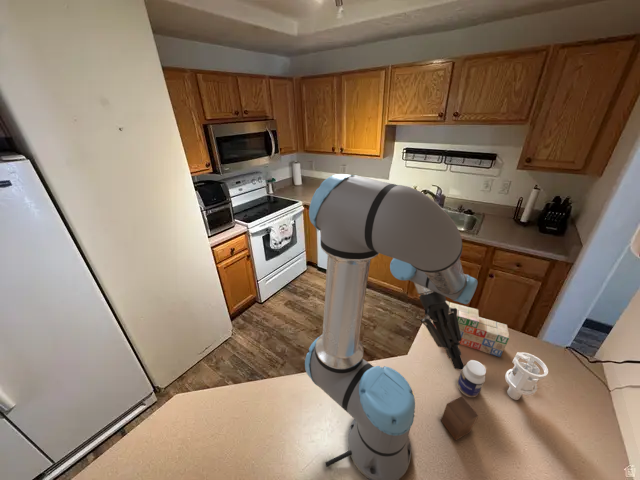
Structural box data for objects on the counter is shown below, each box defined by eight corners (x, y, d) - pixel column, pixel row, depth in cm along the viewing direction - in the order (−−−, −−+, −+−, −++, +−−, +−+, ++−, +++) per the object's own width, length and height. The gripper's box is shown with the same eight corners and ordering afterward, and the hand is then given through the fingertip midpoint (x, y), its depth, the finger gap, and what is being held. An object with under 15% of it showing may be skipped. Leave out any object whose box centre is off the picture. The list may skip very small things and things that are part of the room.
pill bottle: (452, 383, 78) (460, 362, 73) (466, 376, 80) (475, 355, 75) (468, 401, 73) (478, 380, 69) (483, 393, 75) (493, 372, 70)
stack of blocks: (498, 343, 90) (510, 318, 84) (500, 358, 85) (513, 331, 79) (433, 323, 99) (440, 298, 93) (431, 334, 94) (438, 309, 88)
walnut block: (455, 440, 65) (463, 423, 61) (440, 420, 69) (447, 403, 65) (470, 431, 67) (478, 415, 63) (454, 412, 71) (462, 396, 67)
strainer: (503, 377, 79) (520, 345, 72) (531, 394, 75) (552, 361, 67) (495, 393, 75) (513, 360, 68) (524, 412, 70) (546, 379, 63)
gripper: (438, 288, 89) (466, 359, 83) (407, 298, 85) (434, 374, 79) (453, 285, 82) (485, 362, 77) (420, 296, 78) (452, 378, 72)
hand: (459, 368), depth 78 cm, fingers closed
